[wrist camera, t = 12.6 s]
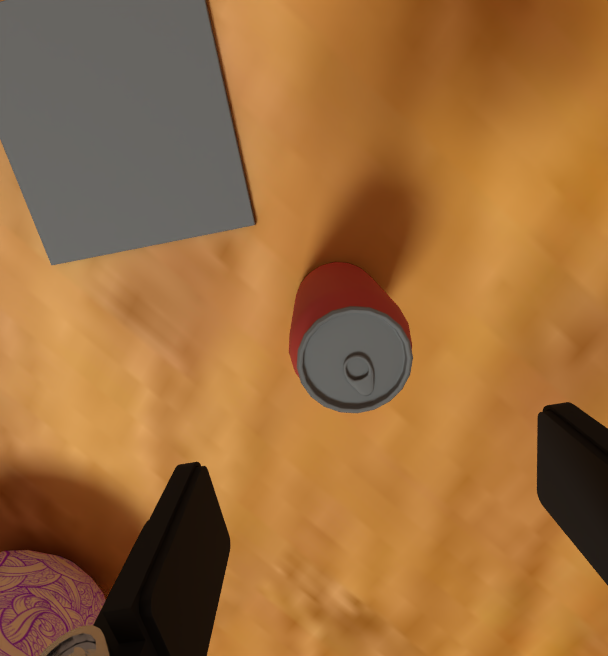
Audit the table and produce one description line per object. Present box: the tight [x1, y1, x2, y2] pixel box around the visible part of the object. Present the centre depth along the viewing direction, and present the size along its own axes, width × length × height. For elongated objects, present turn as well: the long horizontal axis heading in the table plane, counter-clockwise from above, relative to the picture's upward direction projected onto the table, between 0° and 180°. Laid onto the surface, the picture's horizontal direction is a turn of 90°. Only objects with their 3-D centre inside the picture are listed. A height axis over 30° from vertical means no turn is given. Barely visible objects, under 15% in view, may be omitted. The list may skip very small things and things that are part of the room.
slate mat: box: [0, 0, 256, 265], centre depth 25 cm, size 16×16×1 cm
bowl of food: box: [0, 550, 106, 656], centre depth 33 cm, size 20×20×12 cm
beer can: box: [289, 262, 413, 413], centre depth 23 cm, size 7×7×12 cm
